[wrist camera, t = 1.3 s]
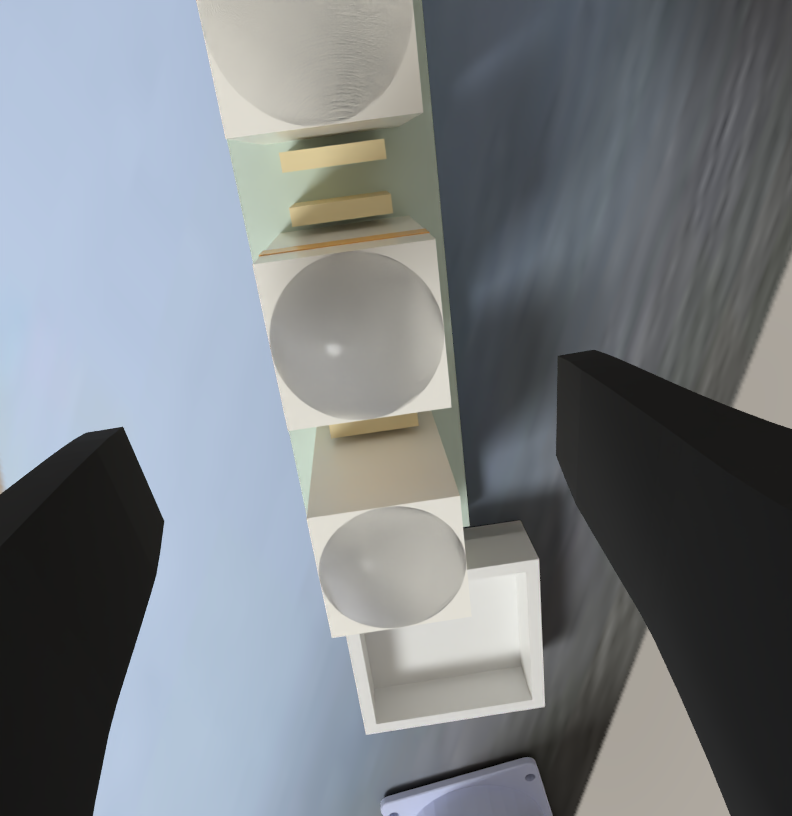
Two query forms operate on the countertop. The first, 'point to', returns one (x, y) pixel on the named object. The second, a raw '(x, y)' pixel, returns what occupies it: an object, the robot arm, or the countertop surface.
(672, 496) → the robot arm
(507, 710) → the tray
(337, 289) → the block
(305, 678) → the countertop surface
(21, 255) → the countertop surface
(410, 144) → the fuse block
